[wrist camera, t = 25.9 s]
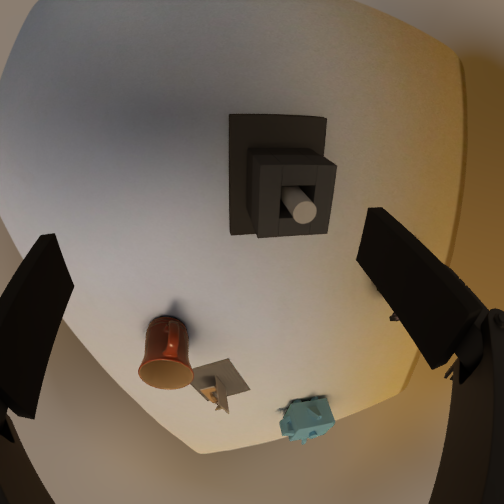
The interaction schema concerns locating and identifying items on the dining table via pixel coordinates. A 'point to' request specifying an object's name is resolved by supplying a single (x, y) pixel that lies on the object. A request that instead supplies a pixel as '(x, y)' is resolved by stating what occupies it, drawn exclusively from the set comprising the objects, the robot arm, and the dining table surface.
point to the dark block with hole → (269, 152)
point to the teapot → (307, 419)
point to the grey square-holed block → (290, 174)
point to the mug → (166, 355)
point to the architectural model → (218, 382)
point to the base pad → (269, 136)
